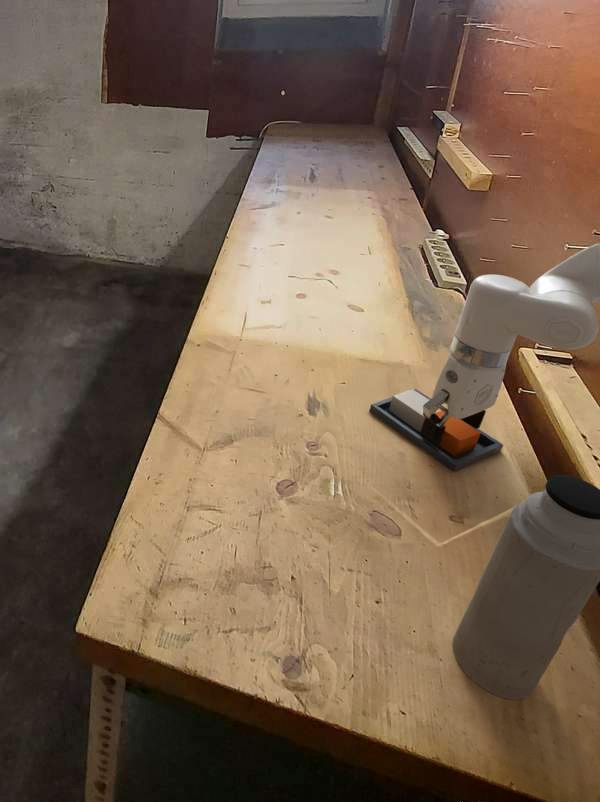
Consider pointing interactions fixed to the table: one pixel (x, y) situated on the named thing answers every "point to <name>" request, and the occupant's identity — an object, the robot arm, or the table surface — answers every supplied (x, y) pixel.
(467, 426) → the orange pad
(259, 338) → the table surface
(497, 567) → the thermos bottle
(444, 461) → the tray
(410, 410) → the grey pad
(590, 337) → the robot arm
